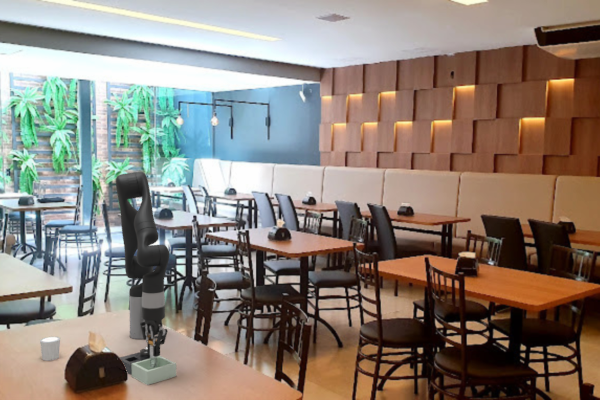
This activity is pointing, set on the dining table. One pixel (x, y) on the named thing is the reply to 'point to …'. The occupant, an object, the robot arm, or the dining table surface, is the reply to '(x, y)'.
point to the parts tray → (153, 370)
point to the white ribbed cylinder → (50, 348)
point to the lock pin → (152, 358)
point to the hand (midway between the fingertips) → (153, 354)
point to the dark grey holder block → (134, 359)
